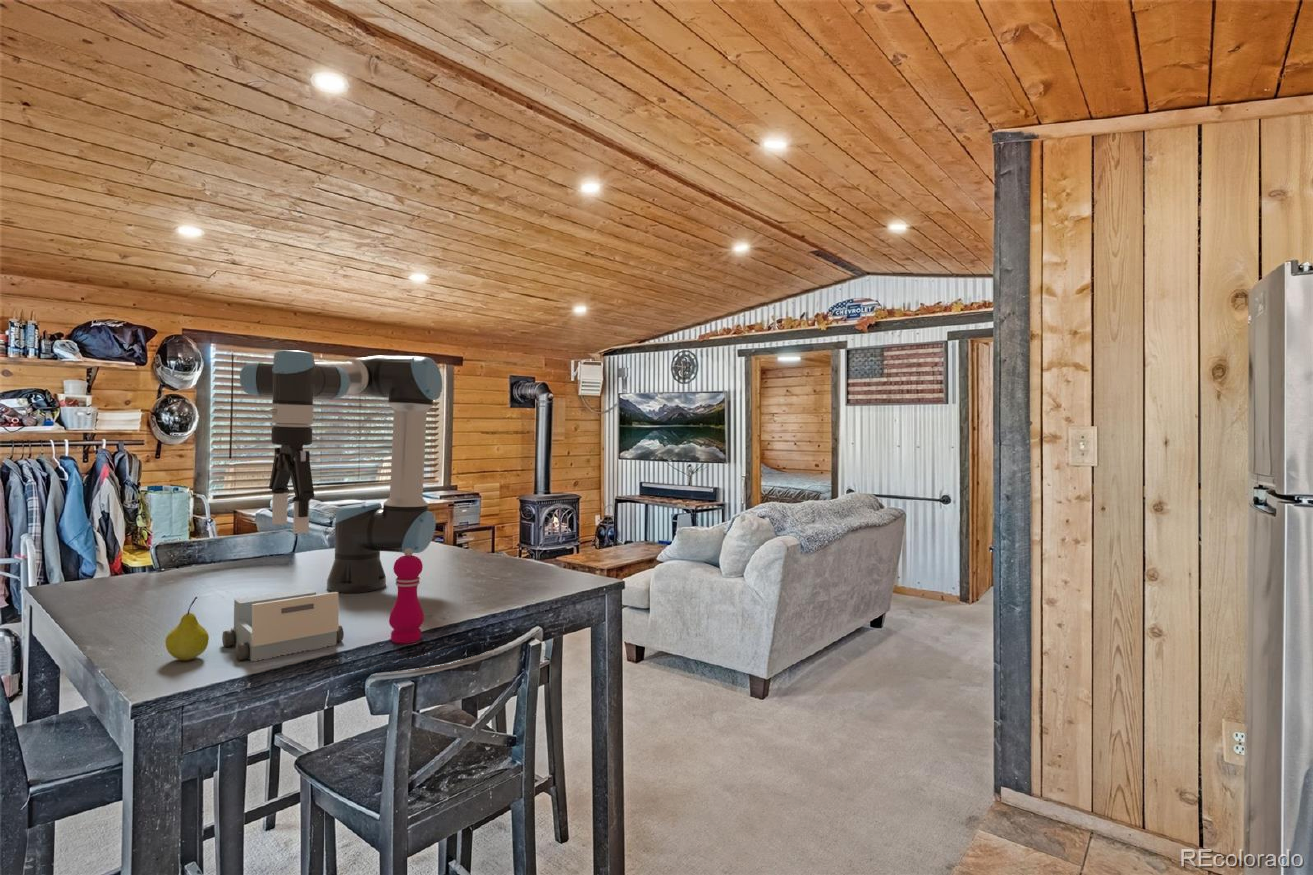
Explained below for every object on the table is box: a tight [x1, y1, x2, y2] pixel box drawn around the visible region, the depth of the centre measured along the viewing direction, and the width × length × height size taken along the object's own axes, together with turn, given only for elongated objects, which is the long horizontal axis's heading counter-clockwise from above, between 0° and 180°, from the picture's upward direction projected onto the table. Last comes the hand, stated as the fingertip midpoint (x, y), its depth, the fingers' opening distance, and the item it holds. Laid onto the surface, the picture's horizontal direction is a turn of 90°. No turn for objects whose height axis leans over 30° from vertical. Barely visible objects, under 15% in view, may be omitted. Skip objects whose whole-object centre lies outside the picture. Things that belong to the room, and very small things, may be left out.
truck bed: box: [221, 588, 345, 663], centre depth 147 cm, size 15×20×9 cm
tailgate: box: [252, 591, 340, 646], centre depth 141 cm, size 1×16×8 cm, turn 135°
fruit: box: [164, 596, 210, 661], centre depth 136 cm, size 7×7×12 cm
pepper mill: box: [388, 548, 425, 644], centre depth 153 cm, size 7×7×20 cm
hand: (289, 528), depth 145 cm, fingers open, 12 cm apart
